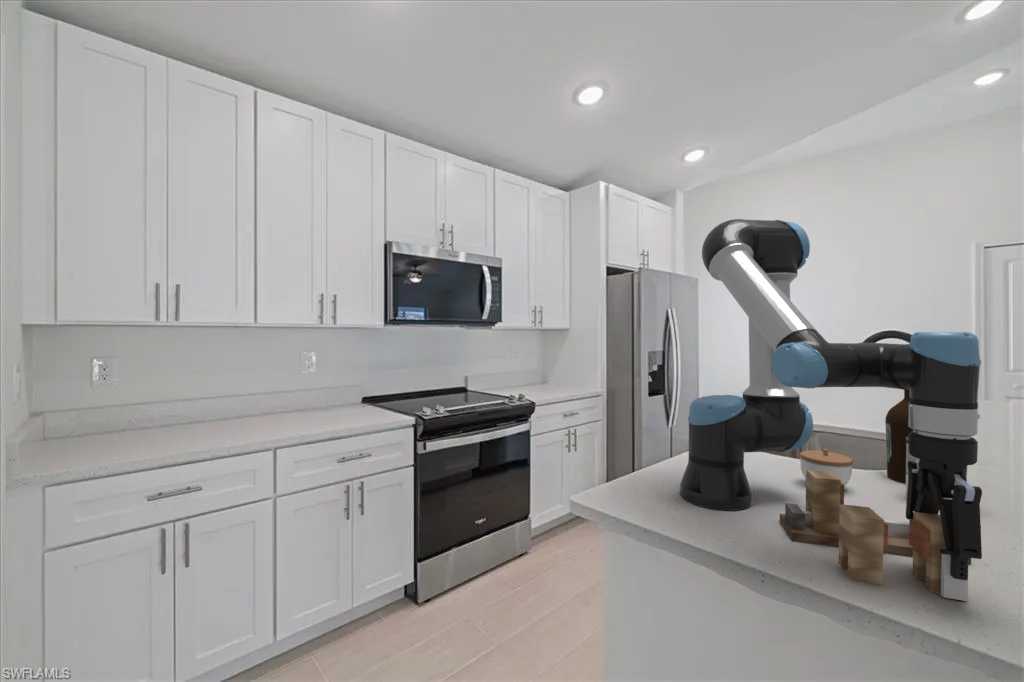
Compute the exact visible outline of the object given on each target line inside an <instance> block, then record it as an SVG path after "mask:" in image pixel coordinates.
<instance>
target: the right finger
mask: <svg viewBox="0 0 1024 682" xmlns="http://www.w3.org/2000/svg"><path fill="white" fill-rule="evenodd" d="M913 513H914V519H910V520H908V521H909V522H908V523H909V544H910V545H911V546H912V547H913V556H912V566H911V567H912V569H911V570H912V571H911V573H912V574H911V575H913V576H914V578H916V580H923V581H925V588H926V589H927V590H929V592H930V593H934V594H935V593H936V594H940V595H941V560H942V553H941V551H940V549H943V550H946V546H945V540H944V534H943V528H942V522H941V516H940V514H939V513H938V514H929V513H919V512H914V511H913Z"/></svg>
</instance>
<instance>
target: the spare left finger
mask: <svg viewBox="0 0 1024 682" xmlns="http://www.w3.org/2000/svg"><path fill="white" fill-rule="evenodd" d="M884 520H885V519H884V518H882V517H881V516H880V515H879V514H877V513H876V512H875V511H874V510H873V509H872V508H870V507H869V506H861V505H853V504H845V503H844V504H840V516H839V547H838V561H837V562H838V565H839V566H840V568H842V569H845V570H846V569H847V576H848V578H849V579H850V580H851V581H856V582H860V583H861V582H862V583H866V584H867V583H868V584H873V585H874V584H875V585H880V586H883V580H884V579H883V578H884V577H883V575H884V571H883V570H884V553H883V551H888V525H887V524H886V523H885V522H884Z"/></svg>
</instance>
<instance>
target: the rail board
mask: <svg viewBox="0 0 1024 682" xmlns="http://www.w3.org/2000/svg"><path fill="white" fill-rule="evenodd" d="M784 507H785V509H784V510H785V511H784V513H779V522H780V524H781V525H782V527H783V529H784V530H785V532H786V534H788V536H789V538H790V539H791V541H793V542H799V543H808V544H815V545H823V546H830V547H832V546H833V547H838V548H839V534H832V533H824V532H816V531H813V529H812V512H810V511H805V510H802V508H801V507H800V506H799V505H798V504H797V503H789V502H785V505H784ZM883 520H884V522H885V523H886V524H887V525H888V551H883V554H884V553H885V554H891V555H892V554H893V555H901V556H907V557H908V556H909V557H913V547H912V546H911V545H910V544H909V522H908V521H907V522H906V521H900V520H899V521H897V520H890V519H883ZM971 564H972V558H969V560H968V565H971Z"/></svg>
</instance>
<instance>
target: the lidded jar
mask: <svg viewBox="0 0 1024 682" xmlns="http://www.w3.org/2000/svg"><path fill="white" fill-rule="evenodd" d="M799 457H800V470H801V472H802V476H803V477H804V479H805V480H806V470H817V471H828V472H831V473H832V474H834V475H835V476H836V477H837V478H839V479H840V480H841V483H843V484H844V487H845V486H847V484H849V482H850V480H851V478H852V472H853V462H854V460H853V459H852V458H851V457H849V456H848V455H844V454H840V453H836V452H832V451H829V449H827V448H823V449H822V450H814V449H813V450H809V449H808V450H803V451H801V452H800V453H799Z"/></svg>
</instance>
